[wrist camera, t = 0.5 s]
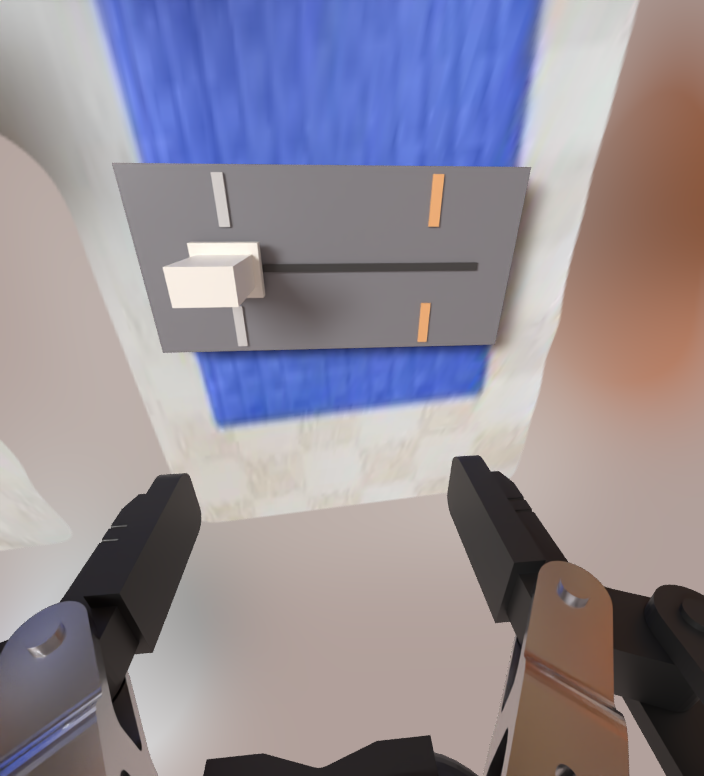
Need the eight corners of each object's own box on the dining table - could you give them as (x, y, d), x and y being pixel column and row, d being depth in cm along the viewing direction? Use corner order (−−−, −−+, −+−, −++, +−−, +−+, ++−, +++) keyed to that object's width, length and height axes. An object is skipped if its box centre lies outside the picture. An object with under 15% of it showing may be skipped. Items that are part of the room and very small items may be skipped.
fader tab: (191, 242, 26) (149, 252, 20) (259, 241, 26) (239, 251, 20) (202, 295, 28) (167, 321, 21) (265, 294, 28) (248, 319, 22)
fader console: (133, 167, 26) (110, 162, 24) (511, 171, 28) (532, 166, 26) (175, 341, 33) (162, 353, 30) (481, 334, 35) (495, 345, 32)
